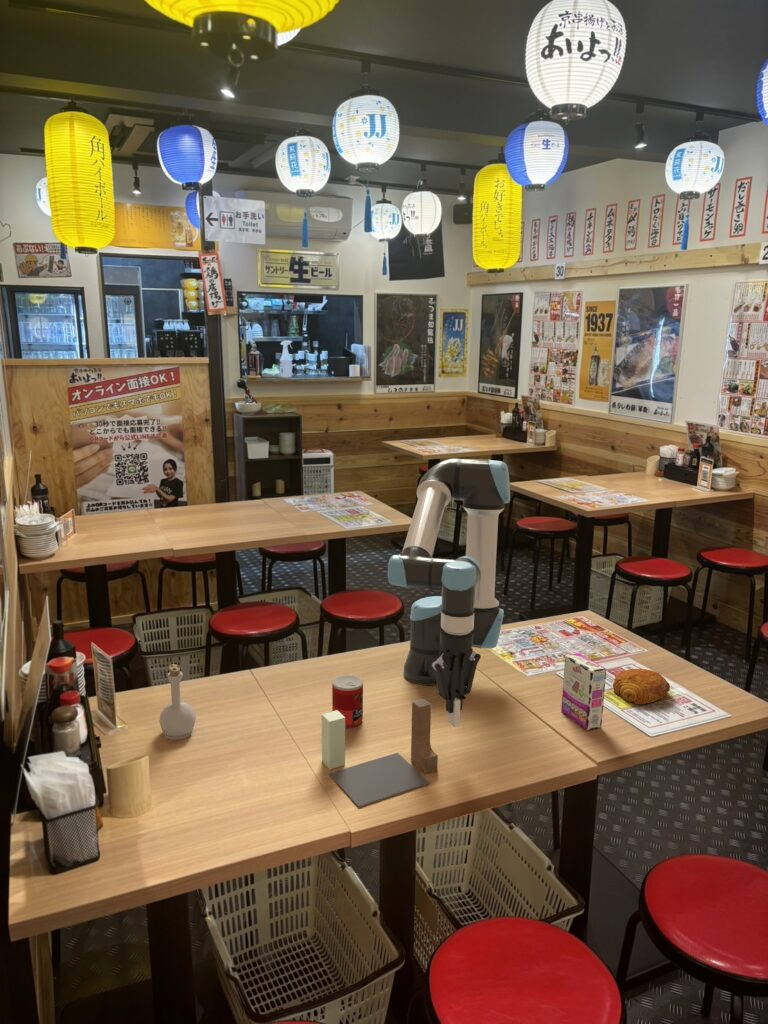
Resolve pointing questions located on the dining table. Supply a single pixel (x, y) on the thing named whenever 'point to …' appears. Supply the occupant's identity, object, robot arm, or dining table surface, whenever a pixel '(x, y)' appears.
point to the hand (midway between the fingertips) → (453, 723)
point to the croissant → (640, 685)
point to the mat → (378, 779)
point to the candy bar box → (583, 691)
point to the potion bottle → (176, 710)
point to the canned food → (348, 699)
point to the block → (333, 739)
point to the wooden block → (422, 737)
